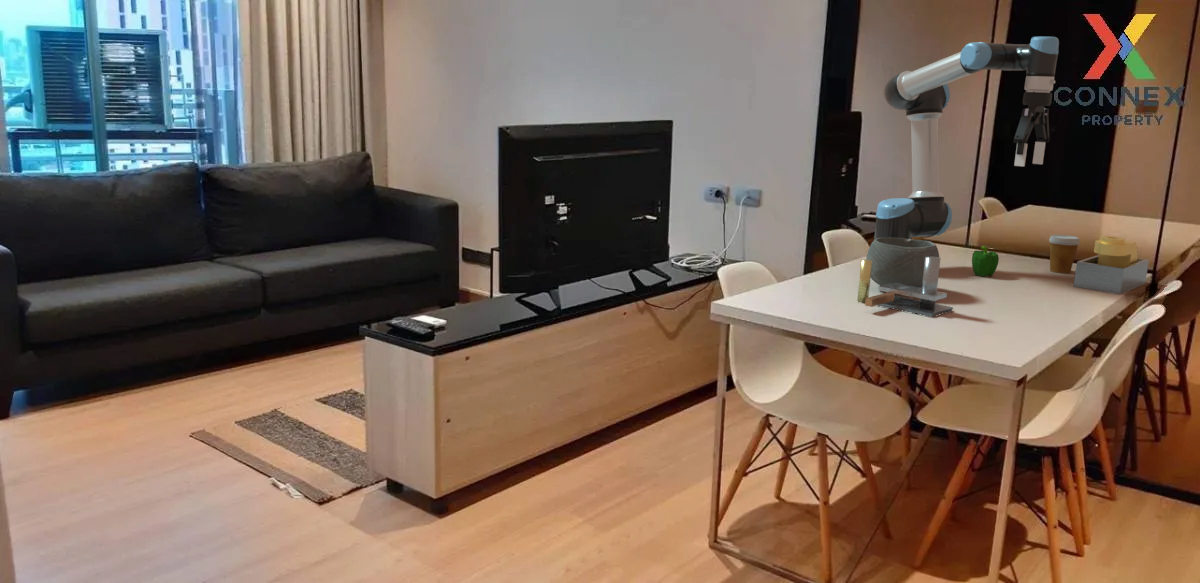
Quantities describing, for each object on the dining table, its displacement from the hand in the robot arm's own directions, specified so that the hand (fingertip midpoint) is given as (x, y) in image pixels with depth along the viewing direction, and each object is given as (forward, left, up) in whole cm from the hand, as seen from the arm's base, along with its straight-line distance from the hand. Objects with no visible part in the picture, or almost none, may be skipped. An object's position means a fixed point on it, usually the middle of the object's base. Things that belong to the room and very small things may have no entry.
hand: (1028, 165), depth 275 cm
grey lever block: (-9, -49, -39) cm, 63 cm away
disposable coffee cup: (-3, +47, -39) cm, 61 cm away
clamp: (+16, +37, -39) cm, 56 cm away
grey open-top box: (+16, +37, -39) cm, 56 cm away
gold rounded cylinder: (-22, -49, -39) cm, 66 cm away
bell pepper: (-17, +18, -39) cm, 46 cm away
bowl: (-23, -26, -39) cm, 52 cm away
